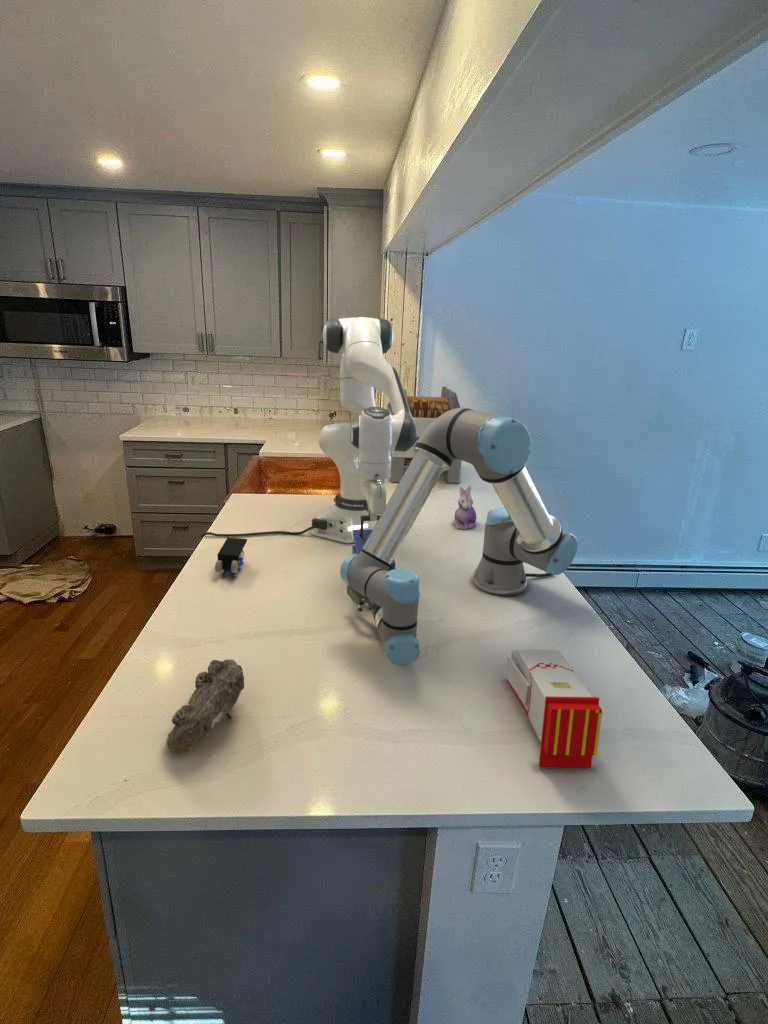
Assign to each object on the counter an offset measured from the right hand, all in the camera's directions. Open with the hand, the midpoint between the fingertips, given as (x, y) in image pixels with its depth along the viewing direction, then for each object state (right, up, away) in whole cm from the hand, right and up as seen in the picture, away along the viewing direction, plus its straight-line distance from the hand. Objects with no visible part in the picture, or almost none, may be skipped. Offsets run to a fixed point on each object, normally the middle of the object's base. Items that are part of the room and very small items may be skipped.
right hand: (374, 574), depth 153 cm
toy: (+34, -24, -41) cm, 58 cm away
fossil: (-30, -22, -45) cm, 59 cm away
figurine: (+32, +12, +57) cm, 67 cm away
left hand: (-1, +15, +2) cm, 15 cm away
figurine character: (-42, 0, +14) cm, 45 cm away
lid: (-1, +7, +2) cm, 7 cm away
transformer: (+20, +36, +122) cm, 128 cm away
